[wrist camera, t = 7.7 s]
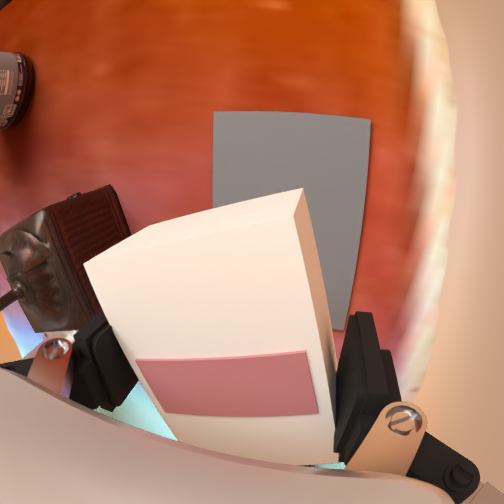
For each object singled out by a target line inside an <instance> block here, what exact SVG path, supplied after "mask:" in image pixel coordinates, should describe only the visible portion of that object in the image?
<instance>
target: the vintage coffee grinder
mask: <svg viewBox="0 0 504 504" xmlns="http://www.w3.org/2000/svg"><path fill="white" fill-rule="evenodd" d="M130 236H131V233H130V230H129V228H128V225H127V222H126V219H125V216H124V214H123V211H122V208H121V205H120V202H119V200H118V197H117V194H116V192H115V191H114V189H113V188H112V186H111V185H110V184H109V185H107V186H104V187H102V188H99V189H96V190H94V191H91V192H88V193H84V194H81V193H76V194H74V195H72V196H70V197H68V198H67V200H64V201H61V202H58V203H55V204H52V205H50V206H48V207H46V208H44V209H42V210H40V211H38V212H36V213H34V214H32V215H30V216H28V217H27V218H25V219H24V220H22V221H20V222H19V223H17V224H16V225H14V226H13V227H11V228H10V229H8V230H7V231H5V232H4V233H2V234H1V235H0V260H1V263H2V265H3V268H4V270H5V273H6V275H7V280H8V282H9V284H10V287H11V291H9V292H8V293H6V294H5V295H4V296H2V297H1V298H0V311H2V310H3V309H4V308H6V307H7V306H8V305H10V304H11V303H13V302H14V301H16V300H18V302H19V304H20V306H21V308H22V310H23V311H24V313H25V315H26V317H27V319H28V321H29V322H30V324H31V326H32V328H33V330H34V331H35V333H40V332H56V331H73V330H80V329H81V328H82V327H83V326H84V325H85V324H87V323H88V322H89V321H90V320H91V319H92V318H93V317H95V316H96V315H97V314H98V313H99V312H100V311H101V310H103V309H102V307H101V305H100V303H99V300H98V298H97V296H96V294H95V291H94V289H93V287H92V284H91V282H90V280H89V277H88V275H87V272H86V270H85V267H84V265H83V264H84V263H85V262H87V261H89V260H90V259H92V258H94V257H95V256H97V255H99V254H100V253H102V252H104V251H106V250H107V249H109V248H111V247H112V246H114V245H116V244H118V243H119V242H121V241H123V240H125V239H126V238H128V237H130Z"/></svg>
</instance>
